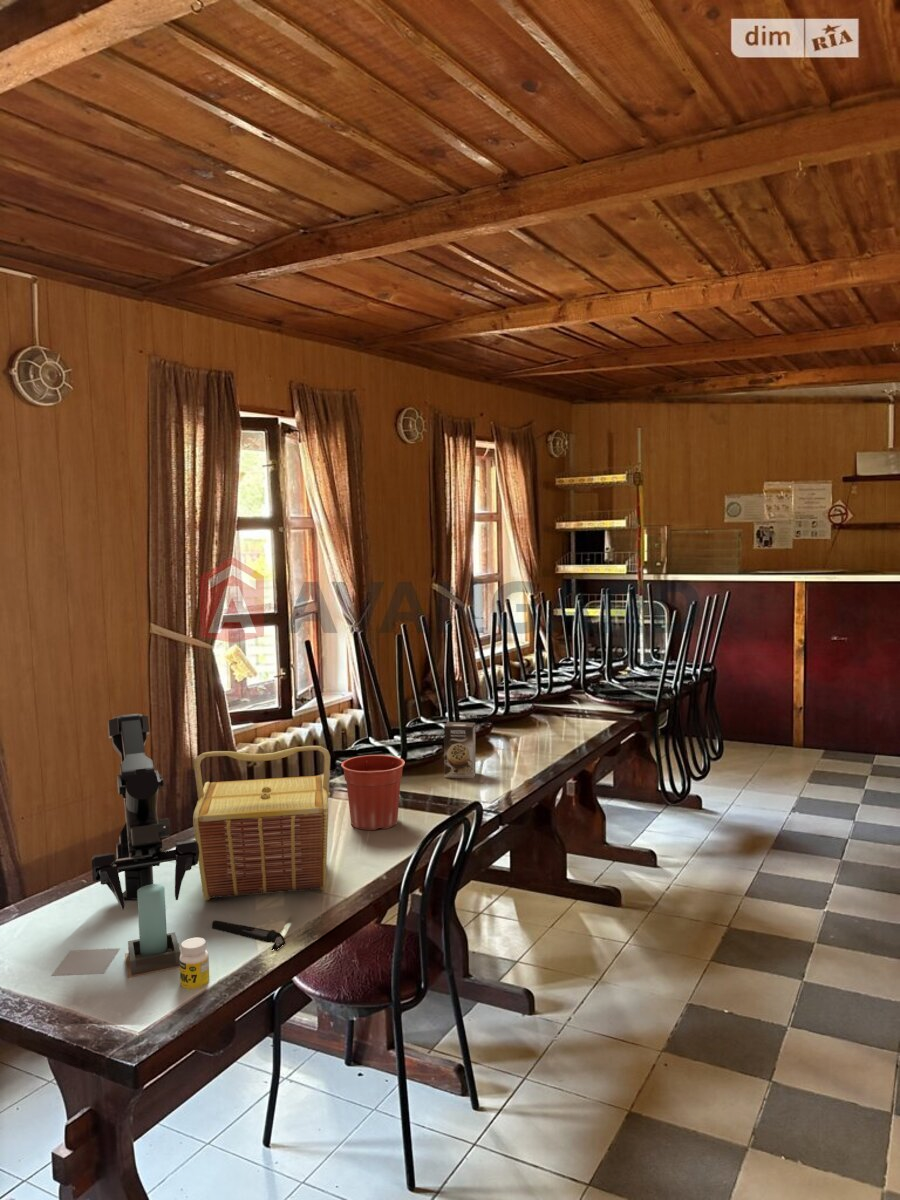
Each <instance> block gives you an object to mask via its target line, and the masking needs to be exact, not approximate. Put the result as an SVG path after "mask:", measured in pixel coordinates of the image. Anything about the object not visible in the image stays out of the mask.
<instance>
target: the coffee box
mask: <svg viewBox="0 0 900 1200" xmlns="http://www.w3.org/2000/svg"><path fill="white" fill-rule="evenodd" d="M443 730H444V731H443V734H444V736H443V745H444V747H443V749H444V751H443V753H444V759H443V762H444V778H452V779H453V778H455V779H456V778H457V779H474V777H475V775H476V773H477V771H476V722H458V721H447V722H446V723H445V725H444V726H443Z"/></svg>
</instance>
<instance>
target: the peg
mask: <svg viewBox="0 0 900 1200" xmlns="http://www.w3.org/2000/svg"><path fill="white" fill-rule="evenodd" d="M165 892H166V891H165V886H164V885H163V884H158V883H153V884H151V885H146V886H143V887H141V888H139V889H138V890H137V897H138V899H137V914H138V917H137V918H138V933H139V934H138V935H139V939H140V957H146V956H151V955H156V954H161V953H166V952H168V951H167V934H168V931H167V913H166V911H167V909H166V893H165Z"/></svg>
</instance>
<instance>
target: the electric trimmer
mask: <svg viewBox="0 0 900 1200" xmlns="http://www.w3.org/2000/svg"><path fill="white" fill-rule="evenodd" d="M211 928H212V929H213V930H216V931H220V932H224V933H228V934H231V935H232V934H233V935H236V936H240V937H243V938H244V937H245V938H249V939H253V940H257V941H261V942H265V943H274V944H273V945H272V947H271V949H270V951H271V950H273V949H274V951H278V950H277V949H278V948H280V947H281V946H282V945H284V944H285V945H286V939H285V938H284V935H282V933H281V932H277V931H276V930H275V929H271V930H269V929H268V930H267V929H264V928H257V927H252V926H247V925H243V924H237V923H231V922H227V921H220V920H217V919H216V920H212V922H211ZM285 945H284V946H285ZM281 948H282V947H281ZM281 948H280V949H281Z"/></svg>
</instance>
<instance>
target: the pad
mask: <svg viewBox="0 0 900 1200" xmlns="http://www.w3.org/2000/svg"><path fill="white" fill-rule="evenodd" d="M120 950H121V948H120V947H118V948H99V949H98V948H97V949H96V948H94V949H93V948H91V949H71V950H69V951H68V953H67V954H66V955H65V957H64V958H63V960H62V961H61V962H60V963H59V964H58V966H57V967H56V969H55V970H54V971H53V973H51V977H57V976H58V977H59V976H60V977H61V976H75V975H76V976H77V975H78V976H79V975H97V974H98V975H99V974H101V975H102V974H105V973H106V971H107V970H108V968H109V967H110V966H111V963H112V962H113V960H115V957H116V955H118V953H119V952H120Z"/></svg>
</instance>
